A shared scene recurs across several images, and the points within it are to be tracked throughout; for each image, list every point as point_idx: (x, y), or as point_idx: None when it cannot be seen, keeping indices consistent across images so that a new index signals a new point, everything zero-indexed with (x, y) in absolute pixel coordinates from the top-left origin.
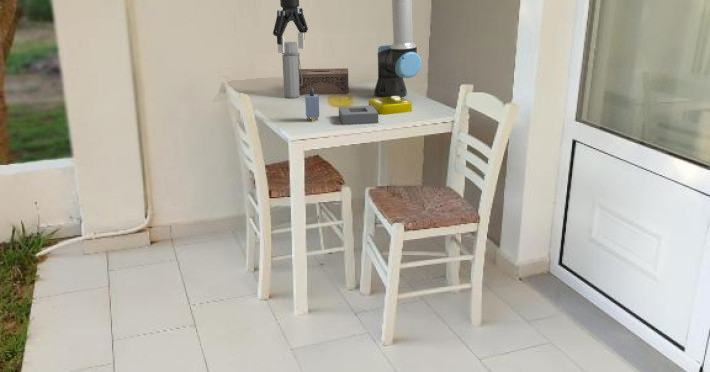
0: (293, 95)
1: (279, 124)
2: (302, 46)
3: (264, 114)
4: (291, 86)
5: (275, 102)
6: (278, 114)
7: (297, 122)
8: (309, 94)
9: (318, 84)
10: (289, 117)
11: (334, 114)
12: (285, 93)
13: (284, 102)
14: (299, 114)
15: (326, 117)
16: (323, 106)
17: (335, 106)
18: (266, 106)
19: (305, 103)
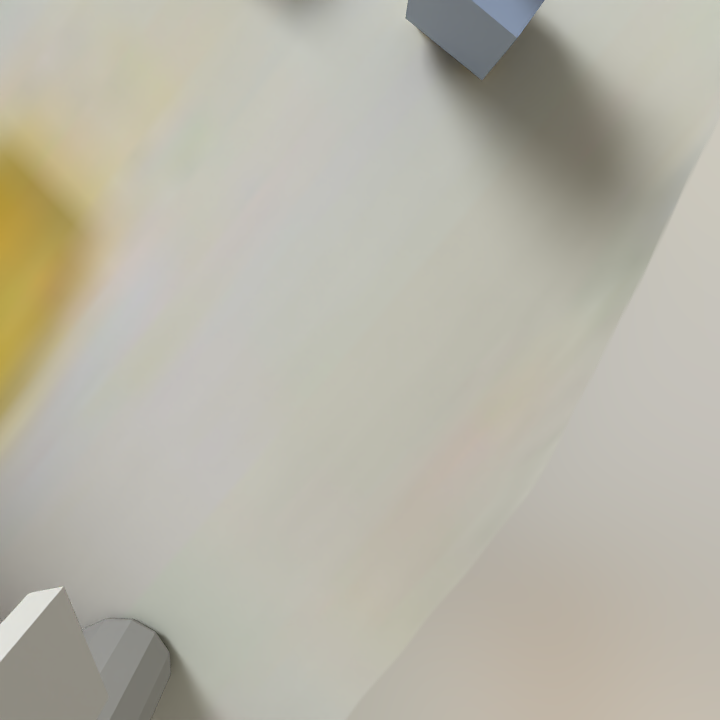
0: (136, 630)
1: (708, 108)
2: (47, 643)
3: (564, 417)
4: (119, 684)
5: (294, 616)
6: (505, 349)
7: (587, 53)
8: (481, 9)
9: None
10: (517, 222)
11: (236, 36)
12: (163, 682)
13: (254, 577)
14: (411, 239)
15: (341, 6)
16: (137, 300)
17: (72, 235)
18: (405, 575)
19: (498, 60)
